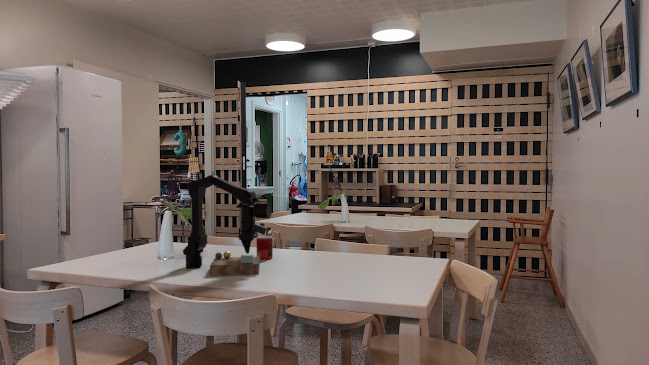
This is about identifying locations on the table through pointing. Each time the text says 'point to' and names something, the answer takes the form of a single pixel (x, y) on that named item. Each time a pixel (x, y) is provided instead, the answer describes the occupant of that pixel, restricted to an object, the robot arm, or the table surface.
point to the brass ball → (226, 254)
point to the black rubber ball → (218, 255)
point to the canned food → (264, 247)
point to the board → (234, 266)
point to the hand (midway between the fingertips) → (247, 253)
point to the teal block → (246, 258)
